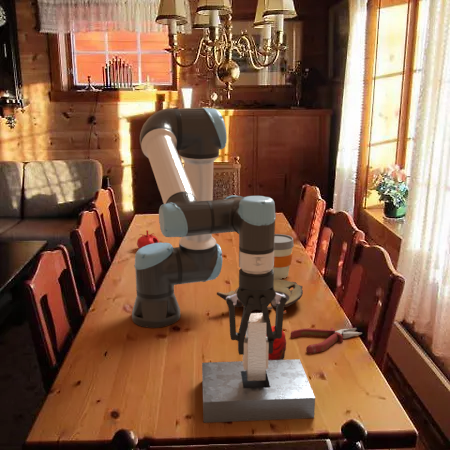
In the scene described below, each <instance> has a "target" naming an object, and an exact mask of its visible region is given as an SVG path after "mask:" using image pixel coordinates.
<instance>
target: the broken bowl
mask: <svg viewBox="0 0 450 450" xmlns="http://www.w3.org/2000/svg"><path fill="white" fill-rule="evenodd" d="M238 288H239V286H238V287H237V288H236V289H235V290H230V291H229V292H220V291H217V292H216V295H217V296H218V297H219V298H220V299H223V300H225V301H226V296H227V295H230V296H231V295H234V294H236V293H237V290H238ZM274 290H275V292H276V293H279V294H281V293H284V294H285V296H286V298H287V302H286V304H285V306H284V308H287V307H289V306H291V305H293V304H295V303H297V302H298V301H299V300H300V299H301V298H302V297H303V294H304V290H303V285H299V284H298V282H295V281H290V280H287V279H286V280H285V279H274ZM270 304H271V306H268V307H267V308H268V311H269V310H273V308H274V309H276V304H277V303H276V301H275V298H274V299H273V300H272V301H271V303H270ZM234 307H236V308H241V307H244V305H243V304H242V303H241V301H240V300H239V299H237V304H236V305H234Z"/></svg>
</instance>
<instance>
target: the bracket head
mask: <svg viewBox="0 0 450 450" xmlns="http://www.w3.org/2000/svg"><path fill="white" fill-rule="evenodd" d="M201 369H202V371H201V373H202V374H201V375H202V376H201V377H202V378H201V379H202V410H203V411H202V414H203V419H202V420H203V424H204V423H222V422H223V423H225V422H226V423H227V422H249V421H250V422H251V421H252V422H253V421H272V420H273V421H275V420H277V421H278V420H297V419H298V420H299V419H315V411H316V410H315V409H316V396H315V393H314V392H313V388H312V387H311V384H310V381H309V379H308V377H307V374H306V371H305V369H304V366H303V364H302V362H301V359H300V358H299V359H283V360H268V369H266V380H259V381H248V380H247V375H246V370H244V367H243V360H242V361H241V360H240V361H239V360H238V361H217V362H216V361H215V362H214V361H212V362H211V361H210V362H201Z"/></svg>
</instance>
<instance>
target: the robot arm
mask: <svg viewBox="0 0 450 450" xmlns="http://www.w3.org/2000/svg"><path fill="white" fill-rule="evenodd" d="M139 134H140V135H139V144H140V149H141V152H142V154H143V155H144V156H145V157H146V158H148V161H149V163H150V166H151V170H152V172H153V175H154V178H155V181H156V184H157V188H158V191H159V193H160V196H161V199H162V203H163V204H161V205H160V206H159V209H158V222H159V228H160V232H161V235H163V236H164V237H165V238H179V241H178V242H179V243H178V246H177V247H176V246H175V247H173V245H172V244H171V243H169V242H159V243H153V244H149V245H146V246H144V247H142V248H140V249H139V248H138V250H137V251H136V252H135V255H134V265H133V266H134V271H135V285H136V287H135V289H136V295H135V296H136V298H135V300H134V304H133V307H132V310H131V311H132V312H131V320H132V322H133V323H134V324H135V325H137V326H139V327H144V328H151V329H152V328H154V329H155V328H163V327H168V326H171V325H173V324H175V323H177V322H178V321H179V320H180V318H181V308H180V305H179V302H178V300H177V297H176V295H175V286H176V285H185V284H193V283H200V282H202V283H204V282H205V283H206V282H207V281H209V282H210V281H213V280H216V279H217V278H218V277H219V276H220V274H221V272H222V267H223V251H222V248H221V246H220V244H218V243H217V240H216V238H214V237H213V234H224V233H237V234H238V266H239V268H240V269H238V287H239V288H238V287H237V288H238V290H237V293H236V294H234V295H231V296H230V295H227V296H226V300H225V301H226V305H227V307H228V319H229V320H228V321H229V335H230V340H231V341H237V353H238V354H239V356H241V355H242V361H243V367H244V370H246V369H247V339H246V330H247V321H248V320H249V317H250V315H251V313H252V311H256V310H257V311H261V313H262V314H263V318H264V320H266V333H267V337H266V369H268V354H272V353H273V342H274V340H275V339H277V338H278V339H280V338H281V337H282V330H283V325H284V324H283V323H284V313H283V312H284V311H285V307H284V306H285V304H286V302H287V298H286V296H285V294H284V293H281V294H279V293H276V292H275V290H274V270H273V267H274V238H275V234H276V233H275V232H276V219H277V217H276V216H277V214H276V205H275V201H274V199H273V198H271V197H270V196H264V195H247V196H241V195H236V194H234V195H232V194H231V195H228V196H226V197H225V198H223V199H214V200H213V195H214V194H213V191H214V189H213V187H214V162H215V161H216V160H218V158H219V157H220V150H223V149H225V147H226V146H227V139H228V137H227V129H226V123H225V120H224V118H223V116H222V114H221V112H220V111H219V110H218V109H216V108H210V107H209V108H208V107H186V108H183V107H181V108H164V109H160V110H158V111H156V112H154V113H153V114H152V115H150V116H149V117H148V118H147V120H146V121H145V122H144V123H143V125H142V127H141V130H140V133H139ZM182 160H183V162H184V163H183V162H182ZM274 298H275V301H276V303H277V304H276V308H275V323H274V326H275V331H273V332H272V328H271V326H272V325H271V319H270V314H269V310H268V308H267V307H269V305H270V304H271V301H272V300H273V299H274ZM237 299H239V300H240V301H241V303H242V304H243V305H244V306H243V311H242V316H241V320H240V324H239V328H238V332H237V327H236V324H237V323H236V308H235V306H234V305H236V304H237Z"/></svg>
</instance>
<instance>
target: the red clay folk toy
mask: <svg viewBox="0 0 450 450" xmlns="http://www.w3.org/2000/svg"><path fill="white" fill-rule="evenodd" d="M284 314H287V310H285V309H284V311H283V315H284ZM271 328H272V332H273V331H275V325H271ZM266 337H267V333H266ZM286 350H287V339H286V333H285V332H284V330H283V329H282V337H281V338H280V339H278V338H277V339H275V340H274V342H273V353H272V354H268V360H285V356H286Z"/></svg>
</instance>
